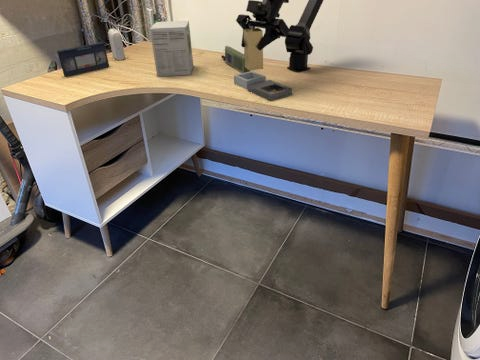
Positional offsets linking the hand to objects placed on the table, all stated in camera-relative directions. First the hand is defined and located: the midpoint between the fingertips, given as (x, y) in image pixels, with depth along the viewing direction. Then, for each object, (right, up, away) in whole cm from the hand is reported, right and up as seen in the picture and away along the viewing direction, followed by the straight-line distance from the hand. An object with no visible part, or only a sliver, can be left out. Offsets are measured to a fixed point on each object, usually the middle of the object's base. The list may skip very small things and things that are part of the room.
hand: (250, 48), depth 122 cm
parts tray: (0, -9, +10) cm, 14 cm away
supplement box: (-29, 0, +28) cm, 40 cm away
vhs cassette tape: (-66, +1, +31) cm, 73 cm away
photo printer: (-58, +12, +48) cm, 77 cm away
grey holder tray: (+6, -14, +2) cm, 16 cm away
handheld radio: (-6, +3, +30) cm, 31 cm away
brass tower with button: (+1, -5, +4) cm, 7 cm away
